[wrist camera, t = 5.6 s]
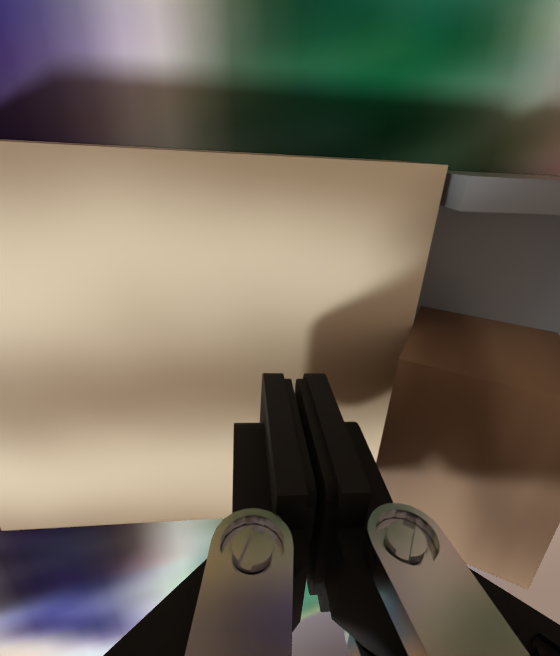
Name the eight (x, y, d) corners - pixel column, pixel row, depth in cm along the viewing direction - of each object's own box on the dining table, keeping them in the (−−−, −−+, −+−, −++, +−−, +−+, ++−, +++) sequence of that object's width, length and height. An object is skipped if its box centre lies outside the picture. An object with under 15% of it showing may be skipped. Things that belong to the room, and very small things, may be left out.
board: (-53, 136, 10) (-154, 132, 8) (400, 160, 12) (448, 165, 9) (42, 464, 16) (1, 530, 13) (350, 452, 17) (372, 509, 14)
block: (398, 358, 9) (611, 412, 7) (421, 306, 13) (557, 332, 12) (363, 520, 11) (528, 589, 9) (393, 427, 15) (508, 464, 13)
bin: (408, 168, 12) (468, 175, 9) (664, 181, 13) (799, 192, 10) (357, 448, 17) (385, 517, 14) (547, 441, 18) (612, 503, 15)
